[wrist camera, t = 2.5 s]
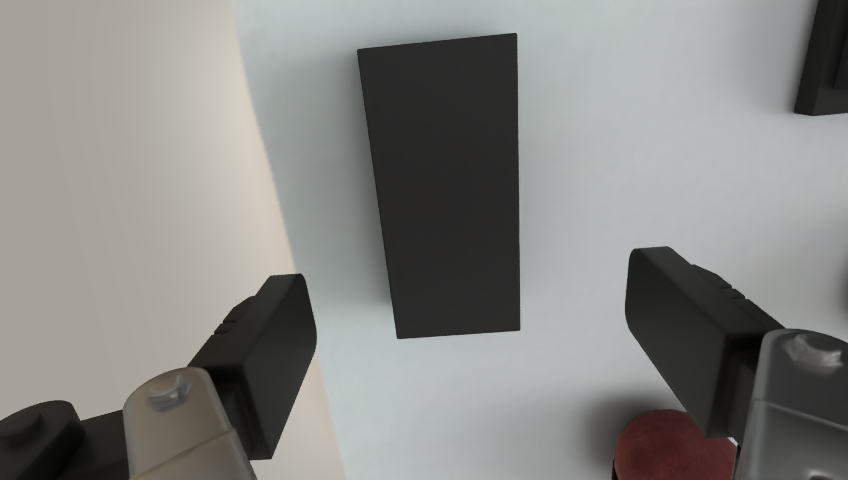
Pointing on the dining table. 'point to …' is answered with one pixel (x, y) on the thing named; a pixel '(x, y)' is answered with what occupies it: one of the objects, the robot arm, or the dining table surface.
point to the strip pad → (447, 181)
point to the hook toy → (670, 450)
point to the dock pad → (826, 63)
